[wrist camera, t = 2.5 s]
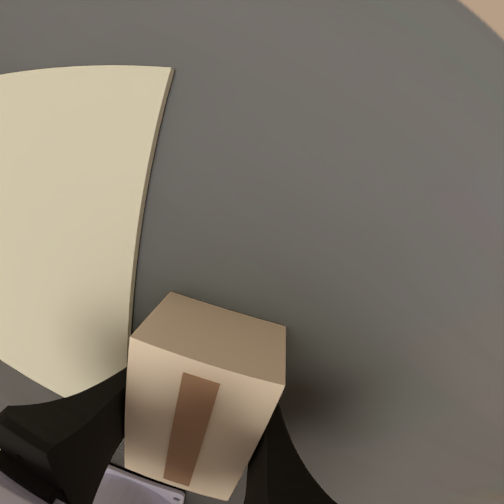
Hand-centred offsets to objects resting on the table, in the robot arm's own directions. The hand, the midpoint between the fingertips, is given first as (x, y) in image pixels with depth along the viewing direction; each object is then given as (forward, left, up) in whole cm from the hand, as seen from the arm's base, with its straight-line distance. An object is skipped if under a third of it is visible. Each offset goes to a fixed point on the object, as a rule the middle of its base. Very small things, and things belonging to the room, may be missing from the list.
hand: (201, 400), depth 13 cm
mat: (+4, +11, -1) cm, 12 cm away
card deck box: (0, 0, -1) cm, 1 cm away
